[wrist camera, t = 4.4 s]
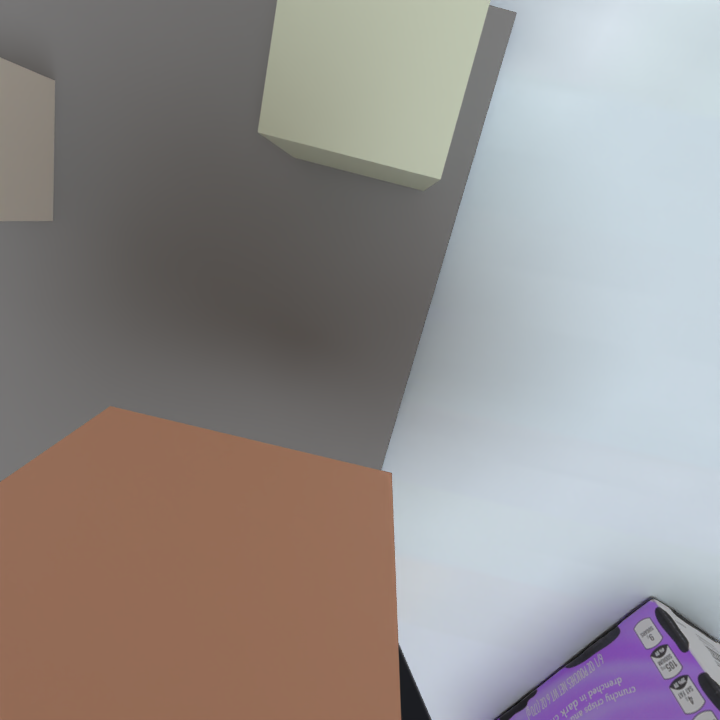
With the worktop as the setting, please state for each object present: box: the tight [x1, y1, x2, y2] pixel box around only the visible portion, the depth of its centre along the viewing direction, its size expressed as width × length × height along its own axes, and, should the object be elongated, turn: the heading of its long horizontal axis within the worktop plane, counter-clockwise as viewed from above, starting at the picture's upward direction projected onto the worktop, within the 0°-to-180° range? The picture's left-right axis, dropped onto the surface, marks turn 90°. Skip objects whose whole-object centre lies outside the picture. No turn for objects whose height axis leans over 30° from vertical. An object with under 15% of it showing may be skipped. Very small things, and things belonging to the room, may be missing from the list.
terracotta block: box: [0, 406, 401, 720], centre depth 6 cm, size 5×5×5 cm
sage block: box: [258, 0, 490, 191], centre depth 13 cm, size 5×5×5 cm
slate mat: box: [0, 0, 516, 482], centre depth 19 cm, size 27×21×1 cm
